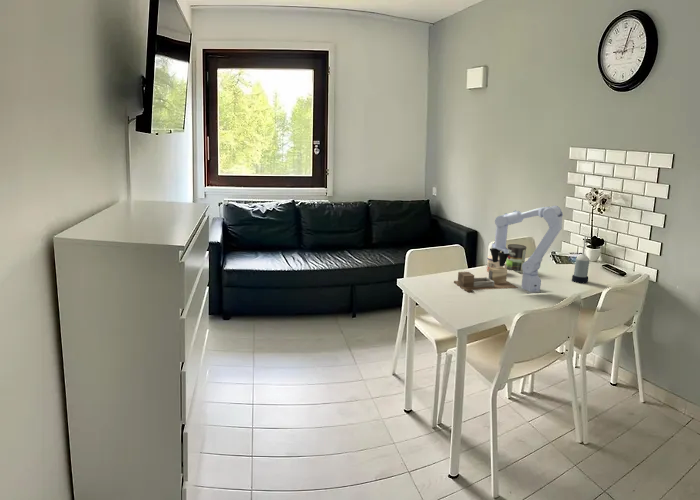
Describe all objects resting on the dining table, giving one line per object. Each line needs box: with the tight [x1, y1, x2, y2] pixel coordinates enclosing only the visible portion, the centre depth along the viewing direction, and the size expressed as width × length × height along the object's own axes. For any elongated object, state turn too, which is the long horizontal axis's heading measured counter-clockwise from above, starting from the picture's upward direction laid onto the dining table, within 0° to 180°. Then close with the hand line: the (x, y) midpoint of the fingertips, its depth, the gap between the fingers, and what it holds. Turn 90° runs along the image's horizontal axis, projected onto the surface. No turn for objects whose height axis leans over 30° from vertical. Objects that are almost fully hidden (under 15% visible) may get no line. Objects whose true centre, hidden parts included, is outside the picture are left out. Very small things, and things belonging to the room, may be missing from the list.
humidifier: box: [571, 235, 590, 285], centre depth 289 cm, size 8×8×25 cm
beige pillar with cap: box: [488, 266, 508, 283], centre depth 282 cm, size 4×8×7 cm, turn 103°
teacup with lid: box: [486, 254, 507, 274], centre depth 300 cm, size 12×9×12 cm
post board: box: [453, 271, 519, 293], centre depth 277 cm, size 16×28×7 cm, turn 103°
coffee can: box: [505, 243, 527, 273], centre depth 310 cm, size 10×10×14 cm
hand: (498, 264), depth 281 cm, fingers open, 7 cm apart
